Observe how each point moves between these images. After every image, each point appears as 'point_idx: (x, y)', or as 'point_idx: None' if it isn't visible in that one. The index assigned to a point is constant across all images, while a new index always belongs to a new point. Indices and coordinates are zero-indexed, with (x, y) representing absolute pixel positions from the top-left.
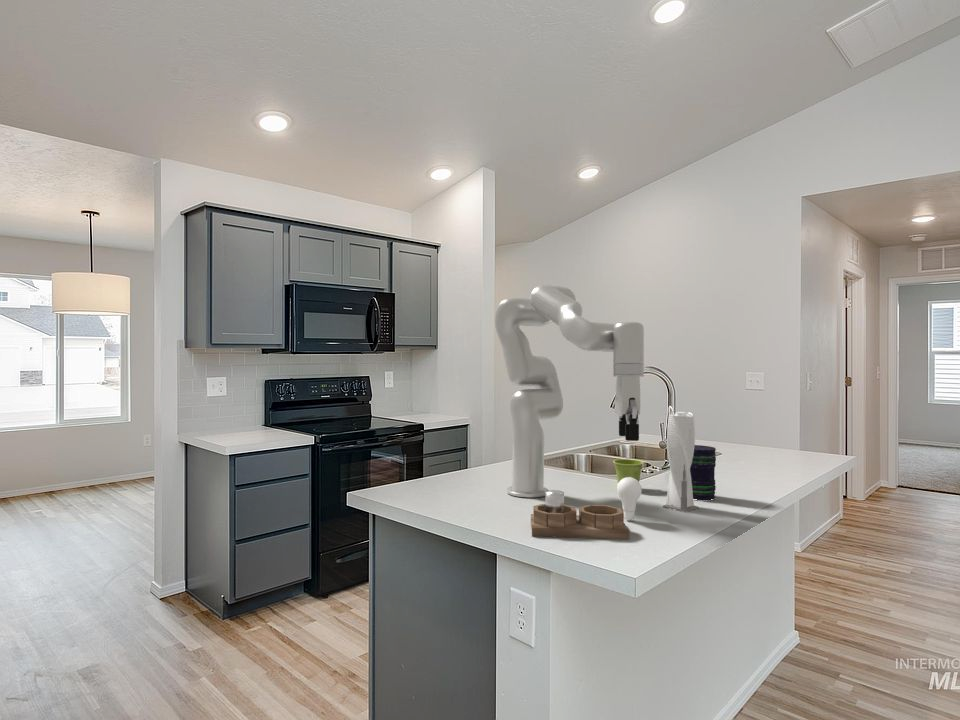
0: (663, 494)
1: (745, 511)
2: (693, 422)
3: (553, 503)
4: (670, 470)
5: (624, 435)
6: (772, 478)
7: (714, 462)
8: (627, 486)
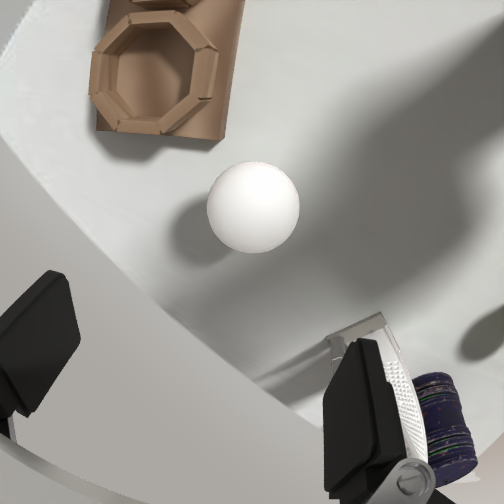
0: (467, 349)
1: (310, 414)
2: None
3: None
4: (416, 397)
5: (340, 366)
6: None
7: None
8: (211, 193)
